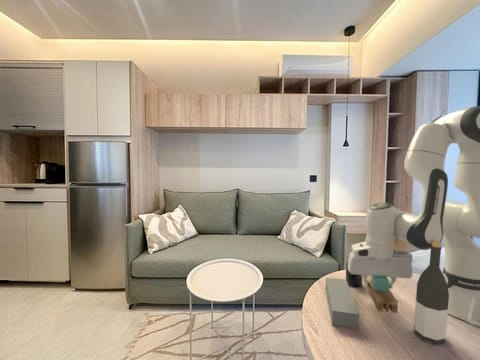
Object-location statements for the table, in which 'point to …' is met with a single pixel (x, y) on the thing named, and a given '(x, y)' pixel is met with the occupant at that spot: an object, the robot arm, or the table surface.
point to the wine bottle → (432, 301)
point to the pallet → (382, 299)
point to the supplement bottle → (353, 278)
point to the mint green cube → (380, 283)
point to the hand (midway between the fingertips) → (378, 287)
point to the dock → (341, 303)
